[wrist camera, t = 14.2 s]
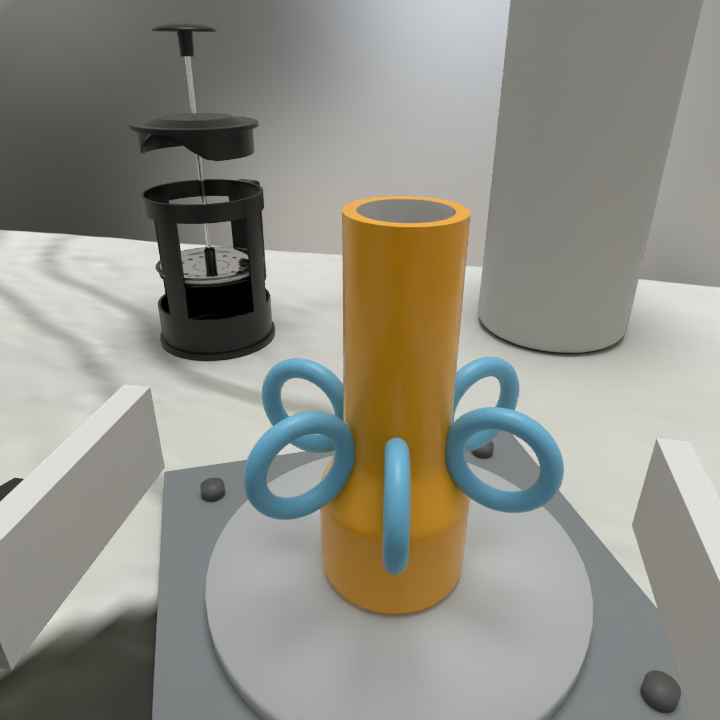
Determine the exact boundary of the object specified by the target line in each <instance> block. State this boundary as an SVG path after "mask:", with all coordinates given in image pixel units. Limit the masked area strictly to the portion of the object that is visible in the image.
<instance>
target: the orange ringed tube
mask: <svg viewBox="0 0 720 720" xmlns="http://www.w3.org/2000/svg"><path fill="white" fill-rule="evenodd" d="M469 223H470V210H469V209H467V208H466V207H464V206H462V205H460V204H458V203H455V202H451V201H446V200H442V199H436V198H427V197H415V196H414V197H413V196H387V197H375V198H368V199H362V200H358V201H354V202H351V203H349V204H347V205H346V206H344V207H343V209H342V240H343V241H342V243H343V383H342V382H341V381H340V380H339V379H338V378H337V377H336V376H335V375H334V374H333V373H332V372H331V371H330V370H328V369H327V368H325V367H324V366H322V365H320V364H318V363H316V362H313V361H310V360H306V359H288V360H285V361H282V362H280V363H278V364H277V365H275V366H274V367H273V368H272V369H271V370H270V371H269V372H268V374H267V376H266V378H265V380H264V383H263V388H262V400H263V405H264V409H265V412H266V414H267V417H268V419H269V420H270V422H271V424H272V425H273V427H271V428H270V429H269V430H268V431H267V432H266V433H265V434H264V435H263V436H262V437H261V438H260V439H259V440H258V442H257V443H256V444H255V446H254V447H253V449H252V451H251V453H250V455H249V457H248V459H247V462H246V465H245V469H244V478H243V482H244V489H245V493H246V496H247V498H248V500H249V502H250V503H251V505H252V506H253V507H254V508H255V509H256V510H257V511H258V512H260V513H261V514H263V515H265V516H267V517H270V518H273V519H279V520H291V519H297V518H301V517H304V516H307V515H309V514H312V513H314V512H316V511H317V510H319V509H320V518H321V549H322V563H323V568H324V571H325V574H326V576H327V578H328V580H329V581H330V583H331V585H332V586H333V587H334V588H335V589H336V590H337V592H338V593H339V594H340V595H341V596H343V597H344V598H346V599H347V600H348V601H349V602H351V603H353V604H355V605H357V606H359V607H361V608H363V609H366V610H370V611H373V612H376V613H384V614H390V615H395V614H409V613H413V612H419V611H422V610H424V609H426V608H429V607H432V606H434V605H435V604H437V603H438V602H440V601H441V600H443V599H444V598H445V597H446V596H447V595H448V594H449V593H450V592H451V591H452V589H453V588H454V586H455V585H456V583H457V581H458V580H459V577H460V574H461V571H462V565H463V558H464V549H465V540H466V532H467V523H468V514H469V505H470V498H471V499H472V500H474V501H475V502H477V503H479V504H481V505H483V506H485V507H487V508H490V509H492V510H496V511H500V512H506V513H523V512H529V511H532V510H535V509H538V508H540V507H542V506H543V505H545V504H546V503H548V502H549V501H550V500H551V499H552V498H553V497H554V496H555V495H556V493H557V492H558V490H559V488H560V486H561V483H562V479H563V473H564V466H563V459H562V455H561V452H560V450H559V448H558V446H557V444H556V442H555V441H554V439H553V438H552V436H551V435H550V434H549V433H548V432H547V430H546V429H545V428H543V427H542V426H541V425H540V424H539V423H537V422H536V421H535V420H533V419H532V418H530V417H528V416H526V415H524V414H522V413H520V412H517V411H514V410H515V408H516V405H517V401H518V397H519V380H518V377H517V374H516V372H515V370H514V368H513V367H512V366H511V365H510V364H509V363H508V362H506V361H505V360H503V359H500V358H496V357H484V358H480V359H477V360H474V361H472V362H470V363H468V364H467V365H465V366H464V367H462V368H461V369H460V370H459V371H458V372H456V368H457V357H458V345H459V334H460V323H461V311H462V300H463V289H464V278H465V267H466V255H467V245H468V233H469ZM488 376H494V377H496V378H497V379H498V380H499V382H500V396H499V400H498V403H497V405H496V407H486V408H480V409H476V410H473V411H470V412H468V413H466V414H464V415H463V416H461V417H460V418H459V419H457V420H456V421H455V422H454V414H455V410H456V407H457V405H458V403H459V401H460V399H461V397H462V396H463V395H464V393H465V392H466V391H467V390H468V389H469V387H471V386H472V385H473V384H474V383H475V382H477V381H478V380H480V379H482V378H484V377H488ZM291 378H302V379H305V380H308V381H310V382H312V383H314V384H315V385H317V386H318V387H319V388H320V389H321V390H323V392H324V393H325V394H326V395H327V396H328V398H329V399H330V401H331V403H332V405H333V408H334V411H335V416H334V415H332V414H329V413H326V412H319V411H309V412H303V413H299V414H295V415H292V416H290V417H289V416H288V415H287V413H286V411H285V409H284V407H283V405H282V401H281V388H282V386H283V384H284V383H285V382H286V381H287V380H289V379H291ZM501 431H506V432H509V433H511V434H513V435H516V436H517V437H519V438H521V439H522V440H523V441H525V442H526V443H527V444H528V445H529V446H530V447H531V448H532V449H533V451H534V452H535V454H536V456H537V458H538V460H539V464H540V474H539V477H538V479H537V481H536V482H535V483H534V484H533V485H532V486H530V487H529V488H527V489H524V490H520V491H504V490H499V489H496V488H493V487H491V486H489V485H487V484H486V483H484V482H483V481H481V480H480V479H479V478H478V477H477V476H476V475H475V474H474V473H473V472H472V471H471V469H470V468H469V466H468V464H467V461H466V458H465V452H466V451H472V450H475V449H478V448H480V447H482V446H484V445H486V444H487V443H489V442H490V441H492V440H493V439H494V438H495V437H496V436H497V435H498V434H499V433H500V432H501ZM289 443H291V444H292V445H294V446H296V447H298V448H300V449H302V450H305V451H308V452H313V453H327V452H331V451H334V450H335V454H334V456H333V457H332V459H331V460H330V462H329V464H328V465H327V467H326V469H325V471H324V473H323V476H322V479H321V482H320V483H319V484H318V485H316V486H315V487H314V488H312V489H311V490H309V491H308V492H306V493H304V494H301V495H299V496H295V497H289V498H284V497H279V496H276V495H274V494H273V493H272V492H271V491H270V490H269V488H268V485H267V473H268V470H269V467H270V465H271V463H272V461H273V459H274V458H275V456H276V455H277V454H278V453H279V452H280V451H281V450H282V449H283V448H284V447H285V446H286V445H287V444H289Z"/></svg>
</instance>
